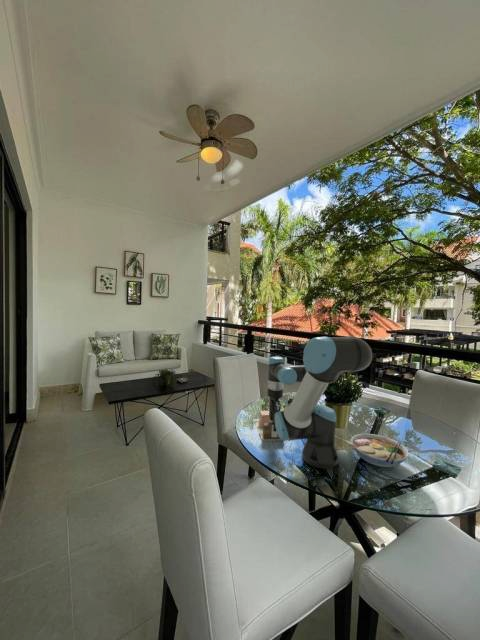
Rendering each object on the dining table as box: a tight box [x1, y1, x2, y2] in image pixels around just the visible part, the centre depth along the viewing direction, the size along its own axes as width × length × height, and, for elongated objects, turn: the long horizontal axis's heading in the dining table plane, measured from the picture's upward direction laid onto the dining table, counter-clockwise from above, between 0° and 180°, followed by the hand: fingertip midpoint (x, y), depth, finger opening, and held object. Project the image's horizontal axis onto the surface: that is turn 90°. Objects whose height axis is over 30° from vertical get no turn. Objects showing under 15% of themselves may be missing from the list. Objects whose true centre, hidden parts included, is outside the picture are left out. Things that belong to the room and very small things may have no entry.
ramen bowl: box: [350, 433, 410, 468], centre depth 126 cm, size 25×23×8 cm
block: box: [258, 410, 270, 426], centre depth 160 cm, size 6×6×6 cm
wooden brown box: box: [252, 418, 282, 442], centre depth 154 cm, size 24×12×8 cm, turn 8°
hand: (273, 434), depth 144 cm, fingers closed on wooden brown box, 3 cm apart
